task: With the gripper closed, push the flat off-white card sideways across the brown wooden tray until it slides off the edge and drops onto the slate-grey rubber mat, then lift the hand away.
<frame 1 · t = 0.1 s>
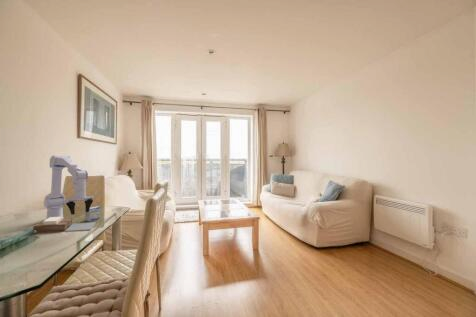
hand: (80, 213, 122), 11 cm above the table, tool pointing down, fingers open, 7 cm apart
medicine box: (92, 220, 143), on the table
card: (53, 222, 121), point 4 cm above the table, touching brown wooden tray
mat: (81, 227, 127), on the table
brown wooden tray: (53, 228, 121), on the table
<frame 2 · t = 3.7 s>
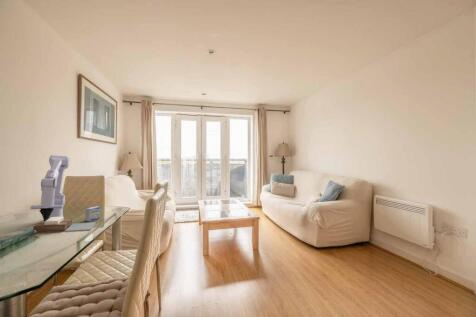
hand: (46, 220, 120), 5 cm above the table, tool pointing down, fingers closed
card: (54, 222, 122), point 4 cm above the table, touching brown wooden tray, gripper
everything else where it was.
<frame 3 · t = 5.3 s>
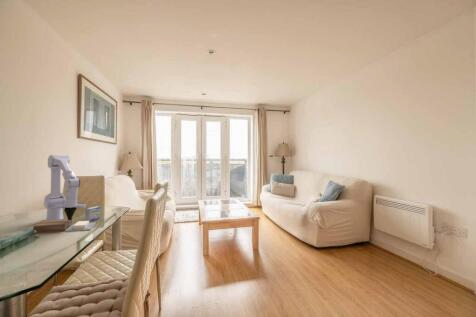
hand: (69, 219, 125), 5 cm above the table, tool pointing down, fingers closed
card: (81, 223, 127), point 3 cm above the table, tilted 180°, touching mat
everything else where it was.
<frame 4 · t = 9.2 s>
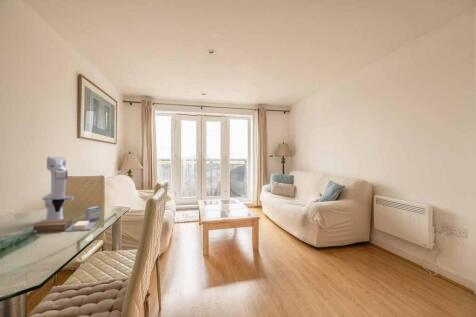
hand: (57, 211, 125), 9 cm above the table, tool pointing down, fingers closed
nothing on the table moved.
at the end: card point 2.6 cm above the table; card inside the target area on the mat (0.1 cm from its centre), point 2.6 cm above the mat's base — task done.
